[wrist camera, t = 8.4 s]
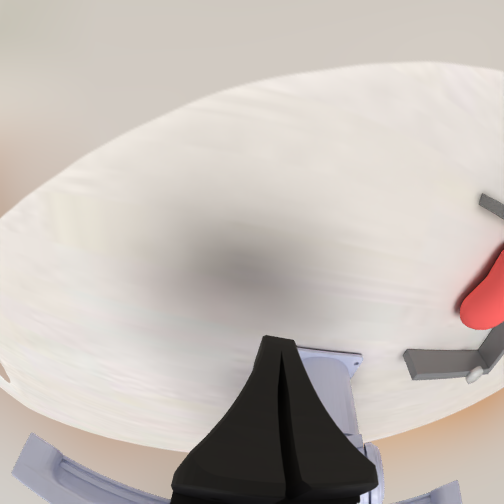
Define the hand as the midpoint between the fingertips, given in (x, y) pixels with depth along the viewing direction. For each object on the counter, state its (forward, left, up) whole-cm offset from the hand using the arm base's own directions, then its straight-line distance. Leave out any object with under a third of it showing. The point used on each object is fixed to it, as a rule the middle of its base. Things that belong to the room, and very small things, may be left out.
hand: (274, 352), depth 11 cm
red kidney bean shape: (+2, -22, -10) cm, 24 cm away
